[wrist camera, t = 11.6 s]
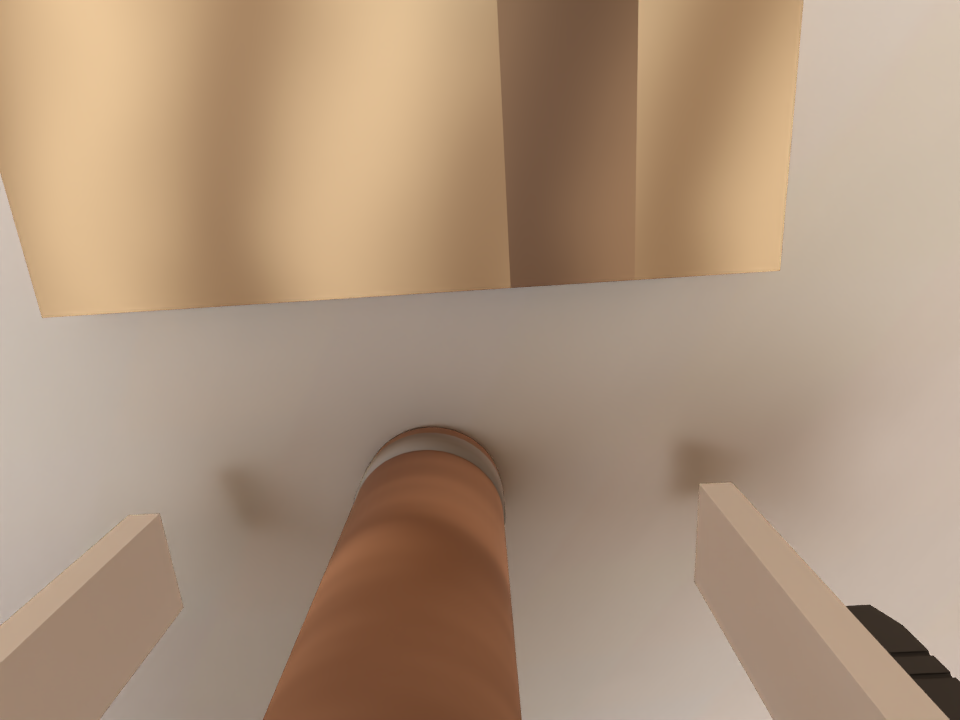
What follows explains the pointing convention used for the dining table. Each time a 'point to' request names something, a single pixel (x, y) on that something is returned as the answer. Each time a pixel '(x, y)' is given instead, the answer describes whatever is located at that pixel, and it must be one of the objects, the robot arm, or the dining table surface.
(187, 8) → the board
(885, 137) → the dining table surface
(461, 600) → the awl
